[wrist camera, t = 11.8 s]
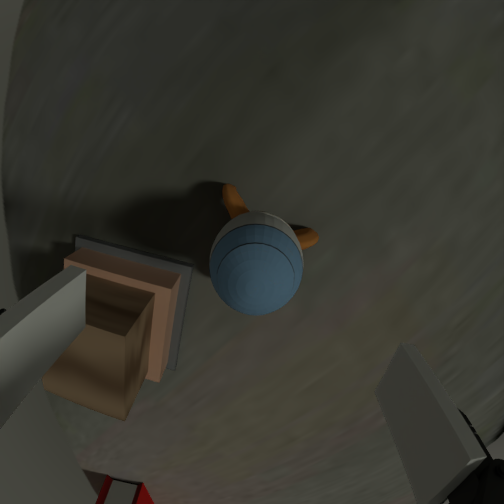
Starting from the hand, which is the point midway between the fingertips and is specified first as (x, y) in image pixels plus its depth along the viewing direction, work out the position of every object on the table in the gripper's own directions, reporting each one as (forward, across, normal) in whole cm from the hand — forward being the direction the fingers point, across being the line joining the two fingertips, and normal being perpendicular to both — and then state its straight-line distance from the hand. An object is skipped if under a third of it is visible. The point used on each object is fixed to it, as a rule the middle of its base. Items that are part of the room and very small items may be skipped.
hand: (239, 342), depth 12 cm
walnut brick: (+16, -12, -13) cm, 24 cm away
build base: (+22, -12, -13) cm, 28 cm away
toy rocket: (+22, 0, 0) cm, 22 cm away
